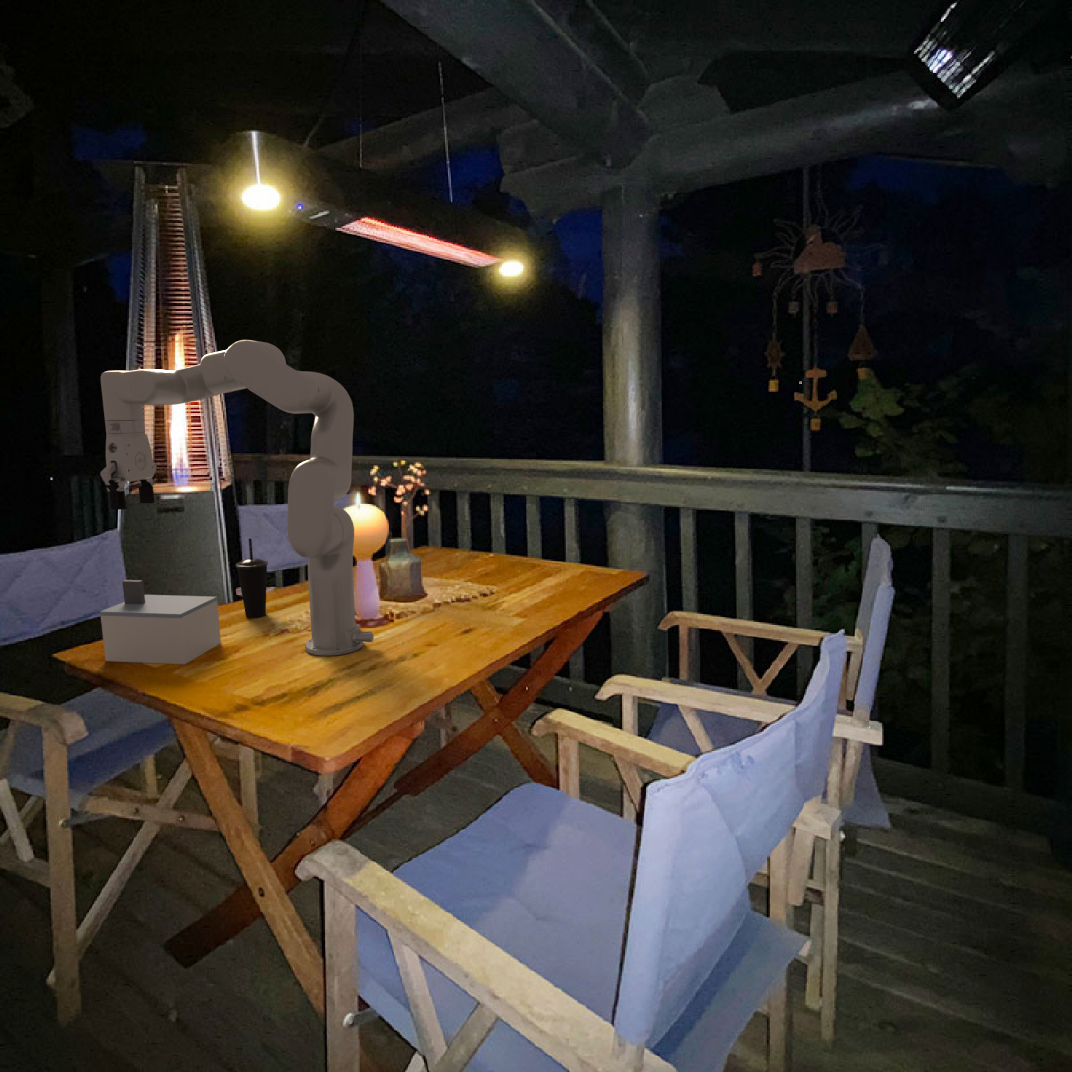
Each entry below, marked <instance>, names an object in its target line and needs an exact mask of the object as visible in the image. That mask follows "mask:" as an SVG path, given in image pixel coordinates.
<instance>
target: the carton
mask: <svg viewBox="0 0 1072 1072" xmlns="http://www.w3.org/2000/svg"><path fill="white" fill-rule="evenodd" d="M218 604H219V603H218V600H217V601H215V602H212V603H210V604H208V605H206V606H204V607H202V608H200V609H198V610H196V611H194V612H192V613H190V614H188V615H186V616H184V617H182V618H167V617H137V616H106V615H100V623H101V631H102V640H103V648H104V657H105V661H106V662H118V663H119V662H120V663H121V662H122V663H141V664H142V663H146V664H147V663H149V664H167V665H169V664H171V665H173V664H174V665H186V664H188V663H190V662H191V661H193V660H195V659H196V658H198V657H200V656H202V655H203V654H204V653H206V652H208V651H210V650H211V649H213V648H215V647H216V646H219V645H220V644H221V643H222V640H221V630H220V628H221V627H220V617H219V607H218Z"/></svg>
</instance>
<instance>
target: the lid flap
mask: <svg viewBox="0 0 1072 1072" xmlns="http://www.w3.org/2000/svg"><path fill="white" fill-rule="evenodd" d="M122 590H123V591H122V592H123V599H124V600H123V602H121V603H118V604H116V605H113V606H110V607H109V608H105V609H103V610H101V611H100V612H99V614H100V616H101V615H106V616H137V617H167V618H182V617H184V616H186V615H188V614H190V613H192V612H194V611H196V610H198V609H200V608H202V607H204V606H206V605H208V604H210V603H212V602H215V601H217V602H218V596H207V595H206V596H205V595H204V596H203V595H202V596H200V595H168V594H167V595H164V594H145V588H144V580H142V579H141V580H139V579H137V580H135V579H134V580H133V579H124V580H122Z"/></svg>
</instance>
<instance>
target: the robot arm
mask: <svg viewBox="0 0 1072 1072" xmlns="http://www.w3.org/2000/svg"><path fill="white" fill-rule="evenodd" d="M100 375H101V376H100V386H101V396H102V407H103V413H104V423H105V425H104V426H105V432H106V433H105V434H106V436H105V437H106V439H105V464H106V467H104V468H103V469H102V470H101V471H100V476H101V479H102V481H103V485H104V486H105V487H106V490H107V492H108V493H109V500H110V507H111V510H119V511H120V510H126V509H127V499H126V492H125V490H123V489H124V488H125V485H126V481H127V482H136V481H137V482H138V483H139V485H138V493H139V494H138V495H139V502H140V504H155V494H154V486H155V478H156V472H157V465H156V464H155V463H154V459H153V453H152V449H151V444H150V441H149V437H148V434H146V425H145V417H144V416H145V415H144V406H159V405H160V406H166V405H167V406H168V405H169V406H173V405H182V404H186V403H190V402H195V401H201V400H204V399H208V398H211V397H216V396H219V395H222V394H227V393H232V392H235V391H241V390H244V389H247V390H249V391H250V392H252V393H253V394H255V395H257V396H258V397H260V398H261V399H263V400H265V401H266V402H268V403H269V404H271V405H273V406H274V407H275V408H278V410H281V411H283V412H286V413H288V414H295V415H297V414H299V415H300V414H313V415H314V422H313V426H312V431H311V436H310V455H309V456H310V457H309V459H307V460H305V461H302V462H301V463H298V464H297V466H296V467H295V468H294V469H293V471H292V473H291V475H290V478H289V482H288V488H287V489H288V490H287V492H288V494H287V519H286V521H287V522H286V523H287V524H286V532H287V533H286V534H287V539H288V543H289V545H290V547H291V549H292V550H293V552H295V553H296V554H297V555H298V556H300V557H301V558H302V557H303V558H305V559H307V560H308V561H307V578H308V579H307V581H308V582H307V583H308V594H309V595H308V596H309V611H310V612H309V613H310V627H311V628H310V629H311V638H310V639H309V640H307V641H306V642H305V644H304V649H305V651H306V653H308V654H310V655H316V656H323V657H324V656H325V657H327V656H330V657H331V656H340V655H346V654H351V653H353V652H356V651H358V650H359V649H361V648H362V647H363V646H364V644H365V643H373V641H374V639H375V638H374V637H375V636H374V635H375V634H374V633H373V631H371V630H362V629H361V624H359V623H358V624H357V623H356V610H355V609H356V608H355V606H356V605H355V588H354V566H353V565H354V564H353V563H354V560H353V559H354V557H353V556H354V555H353V554H354V543H355V526H354V522H353V521H354V520H353V519H352V517H351V515H350V514H349V513H348V512H347V511H346V510H345V509H344V508H342V507H340V506H336V505H335V501H337V500H339V499H341V498H343V497H345V496H346V495H347V494H348V492H349V491H350V488H351V486H352V469H353V468H352V467H353V465H352V464H353V436H354V435H353V434H354V423H355V422H354V419H355V417H354V416H355V413H354V407H353V401H352V398H351V397H350V395H349V393H348V391H347V390H346V389H345V388H344V386H343V385H342V384H341V383H339V382H338V381H337V380H336V379H334V378H332V377H331V376H329V375H327V374H323V373H320V372H316V371H305V370H304V371H301V370H296V369H295V368H292V367H291V366H289V365H288V364H287V362H286V358H285V355H284V353H283V352H282V350H280V349H279V348H278V347H277V346H276V345H273V344H271V343H269V342H266V341H265V342H264V341H257V340H251V339H241V340H238V341H235V342H234V343H232V344H231V345H229V346H228V348H227V349H225V350H220V351H215V352H212V353H211V352H210V353H207V354H204V356H203V357H201V360H200V363H199V364H196V365H192V366H188V367H184V368H178V369H173V370H166V369H151V368H149V369H147V368H145V369H143V368H142V369H135V370H107V371H104V372H102V373H101V374H100Z"/></svg>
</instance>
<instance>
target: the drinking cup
mask: <svg viewBox="0 0 1072 1072" xmlns="http://www.w3.org/2000/svg"><path fill="white" fill-rule="evenodd" d="M252 540H253V539H252V538H248V548H249V551H248V552H249V558H246V559H243V560H241V561H239V562H237V563H236V564H235V567H236V569H237V575H238V580H239V586H240V591H241V596H242V603H243V608H244V609H243V610H244V615H245V617H246V618H250V619H257V618H261V617H264V616H266V613H267V579H268V577H267V575H268V572H267V571H268V565H269V562H268V561H266V560H263V559H261V558H254V556H253V543H252V542H253V541H252Z"/></svg>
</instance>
